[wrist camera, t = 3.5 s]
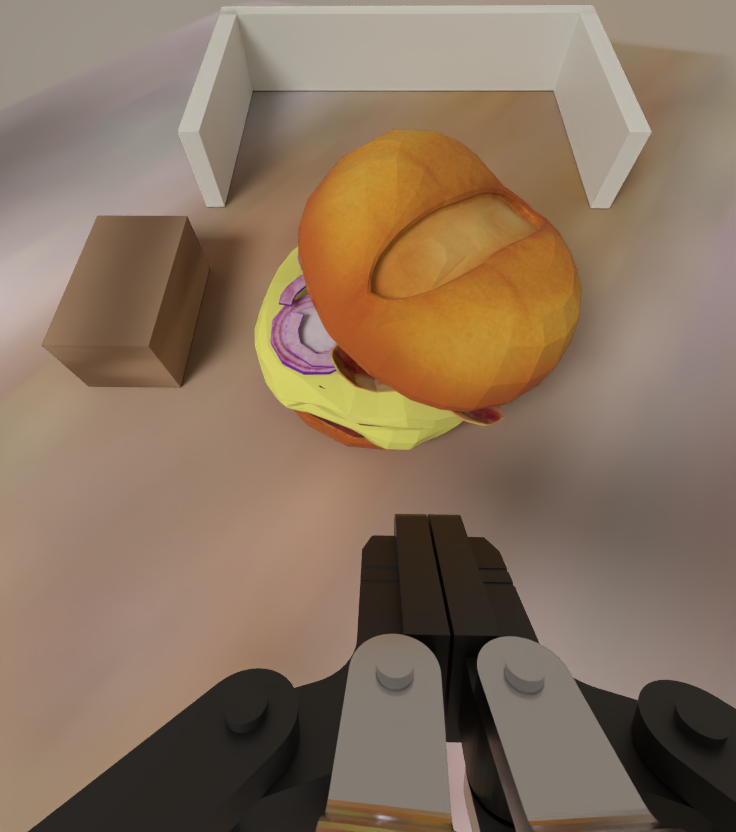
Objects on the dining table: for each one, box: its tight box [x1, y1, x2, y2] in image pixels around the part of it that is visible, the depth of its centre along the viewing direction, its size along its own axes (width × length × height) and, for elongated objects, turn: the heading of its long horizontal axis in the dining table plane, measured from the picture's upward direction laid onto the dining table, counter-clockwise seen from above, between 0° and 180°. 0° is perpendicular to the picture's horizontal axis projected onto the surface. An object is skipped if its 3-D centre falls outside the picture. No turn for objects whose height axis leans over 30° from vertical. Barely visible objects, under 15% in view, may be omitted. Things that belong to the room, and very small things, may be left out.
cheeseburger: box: [255, 129, 581, 450], centre depth 16 cm, size 10×11×10 cm
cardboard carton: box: [42, 216, 210, 387], centre depth 19 cm, size 4×7×3 cm, turn 179°
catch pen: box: [177, 5, 652, 208], centre depth 25 cm, size 22×12×4 cm, turn 89°
